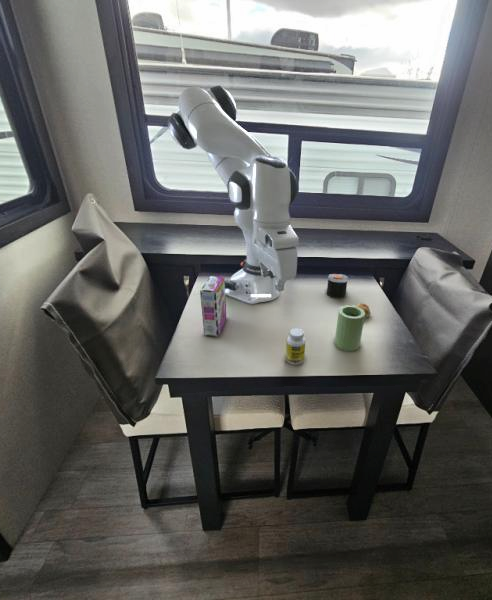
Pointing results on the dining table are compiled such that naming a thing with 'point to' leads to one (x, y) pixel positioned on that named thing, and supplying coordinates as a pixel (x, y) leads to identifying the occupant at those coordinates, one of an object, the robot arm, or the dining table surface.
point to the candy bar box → (213, 305)
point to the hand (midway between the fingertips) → (272, 282)
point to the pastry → (365, 308)
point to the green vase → (349, 327)
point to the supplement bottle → (295, 346)
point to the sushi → (337, 285)
